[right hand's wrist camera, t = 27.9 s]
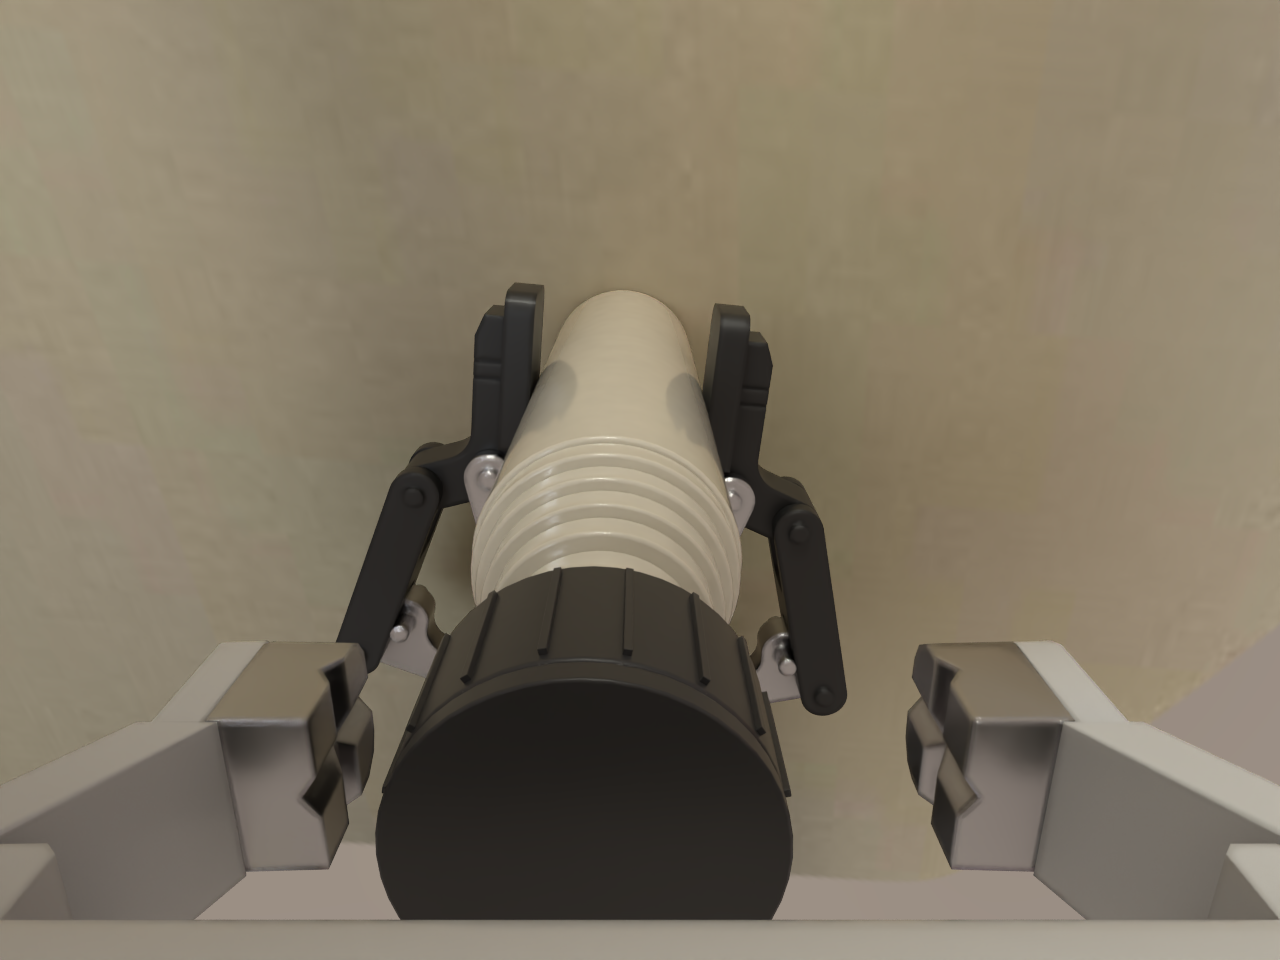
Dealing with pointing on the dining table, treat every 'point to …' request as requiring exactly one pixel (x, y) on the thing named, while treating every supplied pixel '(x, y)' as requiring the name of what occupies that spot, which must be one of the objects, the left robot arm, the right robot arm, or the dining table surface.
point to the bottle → (614, 463)
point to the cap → (588, 763)
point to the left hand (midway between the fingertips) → (627, 302)
